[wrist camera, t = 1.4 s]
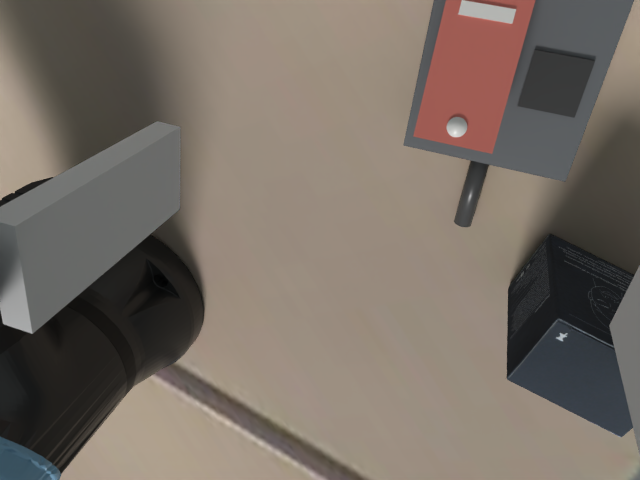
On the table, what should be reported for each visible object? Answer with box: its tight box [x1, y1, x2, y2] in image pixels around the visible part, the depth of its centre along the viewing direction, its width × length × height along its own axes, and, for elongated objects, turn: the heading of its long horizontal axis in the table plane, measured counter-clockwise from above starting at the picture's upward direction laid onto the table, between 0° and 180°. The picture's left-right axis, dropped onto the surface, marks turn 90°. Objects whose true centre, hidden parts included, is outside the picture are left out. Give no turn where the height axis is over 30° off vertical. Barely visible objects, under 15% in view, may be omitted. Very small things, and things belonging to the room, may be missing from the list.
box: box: [507, 234, 634, 437], centre depth 37 cm, size 8×6×11 cm
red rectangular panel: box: [413, 0, 535, 154], centre depth 31 cm, size 4×8×1 cm, turn 173°
